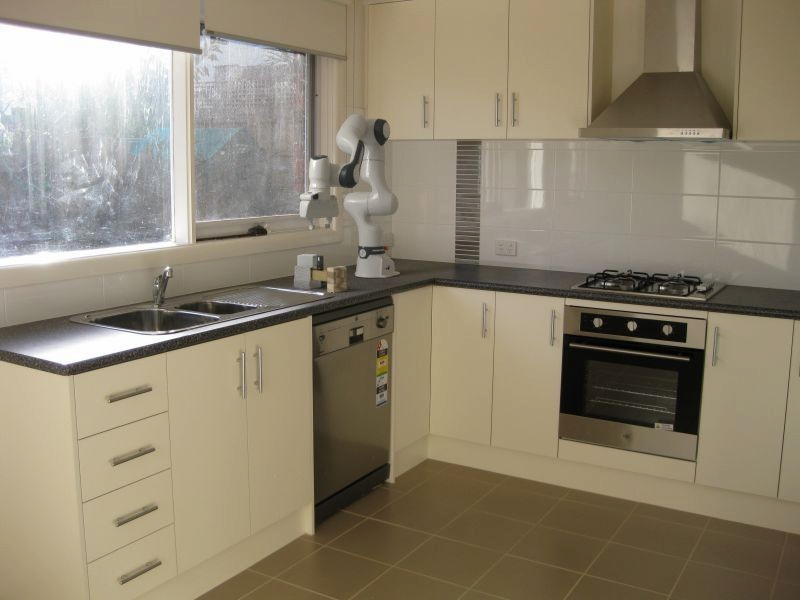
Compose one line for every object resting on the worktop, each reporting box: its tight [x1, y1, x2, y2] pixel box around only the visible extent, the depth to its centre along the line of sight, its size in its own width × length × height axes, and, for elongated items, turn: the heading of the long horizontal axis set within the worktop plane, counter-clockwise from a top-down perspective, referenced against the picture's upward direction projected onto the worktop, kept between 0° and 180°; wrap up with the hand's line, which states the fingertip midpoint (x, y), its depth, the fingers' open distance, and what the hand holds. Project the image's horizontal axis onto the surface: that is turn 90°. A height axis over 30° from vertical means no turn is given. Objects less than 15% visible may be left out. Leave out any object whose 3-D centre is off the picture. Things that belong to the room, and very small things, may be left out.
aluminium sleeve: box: [293, 265, 322, 290], centre depth 368 cm, size 7×9×9 cm
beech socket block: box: [326, 265, 348, 294], centre depth 358 cm, size 8×4×10 cm, turn 142°
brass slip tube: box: [311, 254, 327, 282], centre depth 364 cm, size 4×16×10 cm, turn 52°
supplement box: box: [296, 253, 319, 266], centre depth 380 cm, size 7×7×13 cm
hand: (319, 228), depth 360 cm, fingers open, 8 cm apart
